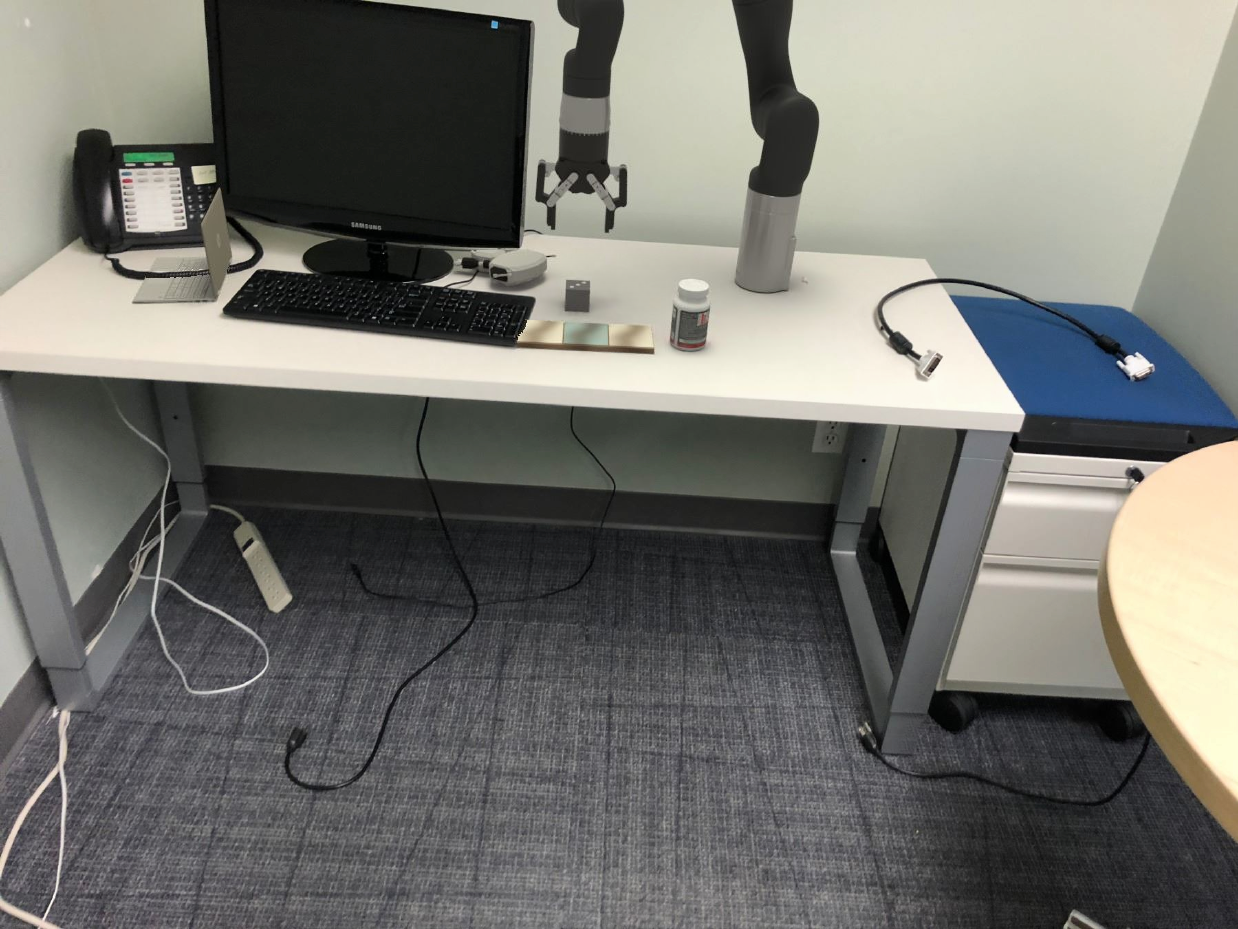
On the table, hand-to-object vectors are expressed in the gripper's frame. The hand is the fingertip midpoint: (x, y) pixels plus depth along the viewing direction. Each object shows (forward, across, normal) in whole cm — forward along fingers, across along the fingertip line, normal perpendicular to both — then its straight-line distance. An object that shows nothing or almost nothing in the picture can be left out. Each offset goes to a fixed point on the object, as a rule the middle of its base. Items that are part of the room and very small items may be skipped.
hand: (579, 229), depth 149 cm
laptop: (+14, +65, -3) cm, 66 cm away
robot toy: (+14, +13, -12) cm, 22 cm away
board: (+13, -2, +12) cm, 18 cm away
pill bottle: (+13, -18, +12) cm, 25 cm away
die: (+13, 0, 0) cm, 13 cm away
